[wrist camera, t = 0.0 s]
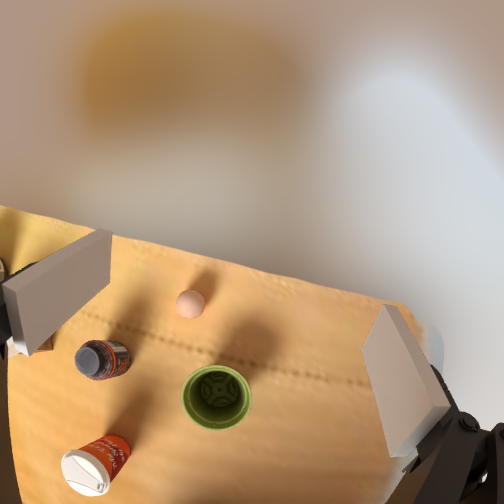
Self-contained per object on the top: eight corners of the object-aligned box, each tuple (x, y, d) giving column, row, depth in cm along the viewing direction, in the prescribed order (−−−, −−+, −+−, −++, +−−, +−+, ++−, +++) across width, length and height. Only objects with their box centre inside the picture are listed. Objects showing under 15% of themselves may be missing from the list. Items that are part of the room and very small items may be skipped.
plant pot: (185, 364, 46) (174, 370, 38) (243, 355, 47) (244, 359, 39) (196, 419, 44) (188, 434, 35) (254, 410, 45) (258, 425, 36)
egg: (211, 302, 49) (208, 297, 44) (196, 325, 48) (191, 323, 42) (189, 287, 49) (183, 280, 44) (174, 309, 48) (166, 306, 43)
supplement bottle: (124, 381, 44) (96, 391, 34) (95, 364, 45) (62, 368, 34) (137, 351, 46) (111, 353, 35) (108, 334, 46) (76, 332, 36)
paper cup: (141, 441, 42) (111, 471, 28) (130, 473, 40) (101, 507, 26) (101, 420, 42) (62, 441, 29) (91, 453, 40) (54, 479, 27)
